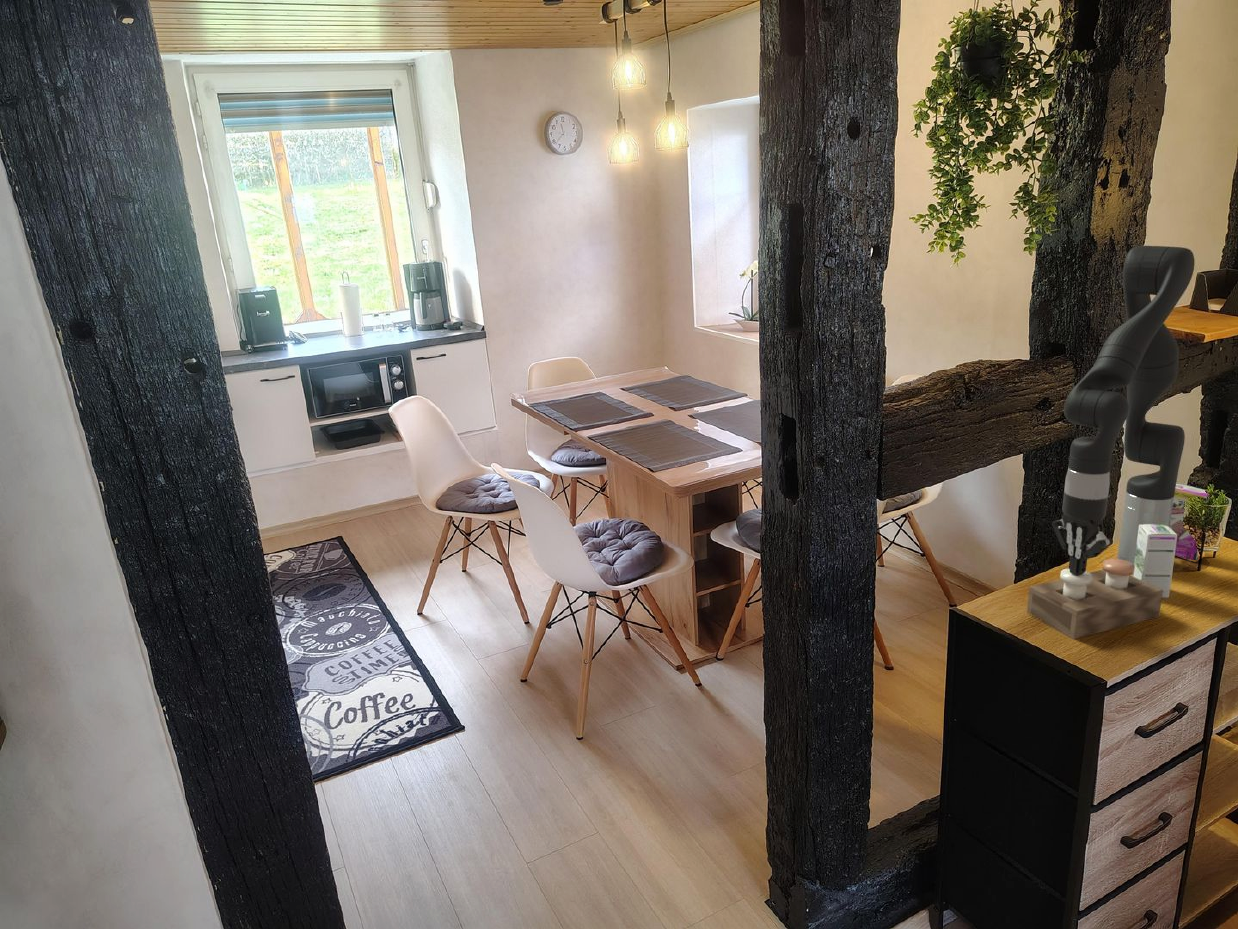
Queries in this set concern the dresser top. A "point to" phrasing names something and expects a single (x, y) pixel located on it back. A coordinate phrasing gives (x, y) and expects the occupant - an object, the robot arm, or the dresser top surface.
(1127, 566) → the terracotta knob
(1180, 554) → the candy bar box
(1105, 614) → the brown wooden block
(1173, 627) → the dresser top surface
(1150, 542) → the syrup box
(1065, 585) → the cream knob
